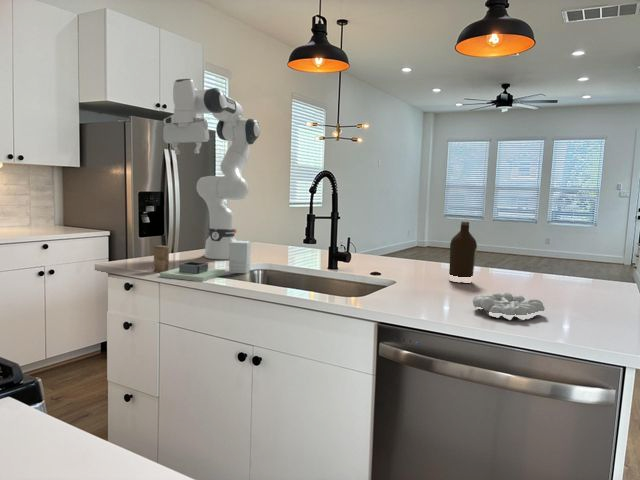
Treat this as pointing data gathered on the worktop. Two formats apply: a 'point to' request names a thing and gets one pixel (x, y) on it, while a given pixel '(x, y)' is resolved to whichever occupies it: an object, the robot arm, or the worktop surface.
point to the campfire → (508, 304)
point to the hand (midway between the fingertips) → (187, 153)
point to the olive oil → (462, 253)
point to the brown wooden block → (161, 258)
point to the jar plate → (189, 276)
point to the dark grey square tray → (193, 267)
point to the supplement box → (239, 256)
